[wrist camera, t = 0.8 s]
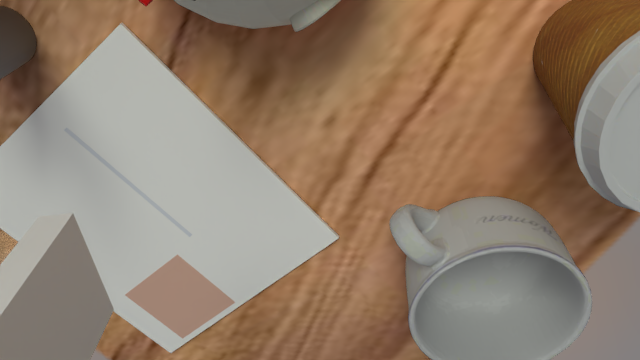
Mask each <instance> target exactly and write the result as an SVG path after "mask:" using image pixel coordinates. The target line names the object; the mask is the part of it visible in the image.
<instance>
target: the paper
mask: <svg viewBox="0 0 640 360" xmlns="http://www.w3.org/2000/svg"><path fill="white" fill-rule="evenodd" d="M69 213H73V214H74V216H75V219H76V221H77V223H78V226H79V228H80V230H81V233H82V235H83V238H84V240H85V242H86V245H87V247H88V249H89V252H90V254H91V256H92V259H93V261H94V263H95V266H96V268H97V271H98V273H99V275H100V278H101V280H102V282H103V285H104V287H105V289H106V292H107V294H108V296H109V299H110V301H111V304H112V306H113V308H114V310H113V311H114V312H115V313H117V314H118V315H119V316H121V317H122V318H123V319H125V320H126V321H128V322H129V323H130V324H132V325H133V326H134V327H136V328H137V329H138V330H140V331H141V332H143V333H144V334H145V335H147V336H148V337H149V338H151V339H152V340H153V341H155V342H156V343H158V344H159V345H160V346H162V347H163V348H164V349H166V350H167V351H168V352H170V353H172V352H173V351H175V350H176V349H178V348H179V347H181V346H182V345H183V344H185V343H186V342H188V341H189V340H191V339H192V338H194V337H195V336H197V335H198V334H200V333H201V332H202V331H204V330H205V329H207V328H208V327H210V326H211V325H213V324H214V323H216V322H217V321H219V320H220V319H221V318H223V317H224V316H226V315H227V314H229V313H230V312H232V311H233V310H235V309H236V308H238V307H239V306H240V305H242V304H243V303H245V302H246V301H248V300H249V299H251V298H252V297H254V296H255V295H257V294H258V293H260V292H261V291H262V290H264V289H265V288H267V287H268V286H270V285H271V284H273V283H274V282H276V281H277V280H279V279H280V278H281V277H283V276H284V275H286V274H287V273H289V272H290V271H292V270H293V269H295V268H296V267H298V266H299V265H300V264H302V263H303V262H305V261H306V260H308V259H309V258H311V257H312V256H314V255H315V254H317V253H318V252H319V251H321V250H322V249H324V248H325V247H327V246H328V245H330V244H331V243H333V242H334V241H336V240H337V239H338V238H339V235H338V234H337V233H336V232H335V231H334V230H333V229H332V228H331V227H330V226H329V225H328V224H327V223H326V222H325V221H324V220H323V219H322V218H321V217H319V216H318V215H317V214H316V213H315V212H314V211H313V210H312V209H311V208H310V207H309V206H308V205H307V204H306V203H305V202H304V201H303V200H302V199H301V198H300V197H299V196H298V195H297V194H296V193H295V192H294V191H293V190H292V189H291V188H290V187H289V186H288V185H287V184H286V183H285V182H284V181H283V180H282V179H281V178H280V177H279V176H278V175H277V174H276V173H275V172H274V171H273V170H272V169H271V168H270V167H269V166H268V165H267V164H266V163H265V162H264V161H263V160H262V159H261V158H260V157H259V156H258V155H257V154H255V153H254V152H253V151H252V150H251V149H250V148H249V147H248V146H247V145H246V144H245V143H244V142H243V141H242V140H241V139H240V138H239V137H238V136H237V135H236V134H235V133H234V132H233V131H232V130H231V129H230V128H229V127H228V126H227V125H226V124H225V123H224V122H223V121H222V120H221V119H220V118H219V117H218V116H217V115H216V114H215V113H214V112H213V111H212V110H211V109H210V108H209V107H208V106H207V105H206V104H205V103H204V102H203V101H202V100H201V99H200V98H199V97H198V96H197V95H196V94H195V93H194V92H193V91H191V90H190V89H189V88H188V87H187V86H186V85H185V84H184V83H183V82H182V81H181V80H180V79H179V78H178V77H177V76H176V75H175V74H174V73H173V72H172V71H171V70H170V69H169V68H168V67H167V66H166V65H165V64H164V63H163V62H162V61H161V60H160V59H159V58H158V57H157V56H156V55H155V54H154V53H153V52H152V51H151V50H150V49H149V48H148V47H147V46H146V45H145V44H144V43H143V42H142V41H141V40H140V39H139V38H138V37H137V36H136V35H135V34H134V33H133V32H132V31H131V30H130V29H129V28H128V27H126V26H125V25H124V24H123V23H121V24H120V25H119V26H118V27H117V28H116V29H115V30H114V31H113V32H112V33H111V34H110V35H109V36H108V37H107V38H106V39H105V40H104V41H103V42H102V43H101V44H100V45H99V46H98V47H97V48H96V49H95V50H94V51H93V52H92V53H91V54H90V55H89V56H88V57H87V58H86V59H85V60H84V61H83V62H82V63H81V65H80V66H79V67H78V68H77V69H76V70H75V71H74V72H73V73H72V74H71V75H70V76H69V77H68V78H67V79H66V80H65V81H64V82H63V83H62V84H61V85H60V86H59V87H58V88H57V89H56V90H55V91H54V92H53V93H52V94H51V95H50V96H49V97H48V98H47V99H46V100H45V101H44V102H43V103H42V104H41V105H40V106H39V107H38V108H37V109H36V111H35V112H34V113H33V114H32V115H31V116H30V117H29V118H28V119H27V120H26V121H25V122H24V123H23V124H22V125H21V126H20V127H19V128H18V129H17V130H16V131H15V132H14V133H13V134H12V135H11V136H10V137H9V138H8V139H7V140H6V141H5V142H4V143H3V144H2V145H1V146H0V228H1V229H2V230H3V231H5V232H6V233H7V234H9V235H10V236H11V237H13V238H14V239H16V240H17V241H18V242H19V241H20V239H21V238H22V237H23V236H24V234H25V233H26V232H27V231H28V229H29V228H30V227H31V226H32V224H33V223H34V222H35V221H36V219H37V218H38V217H41V216H51V215H60V214H69Z"/></svg>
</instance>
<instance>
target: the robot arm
mask: <svg viewBox="0 0 640 360" xmlns="http://www.w3.org/2000/svg"><path fill="white" fill-rule="evenodd" d="M113 310H114V308H113V306H112V304H111V301H110V299H109V296H108V294H107V292H106V289H105V287H104V285H103V282H102V280H101V278H100V275H99V273H98V271H97V268H96V266H95V263H94V261H93V259H92V256H91V254H90V252H89V249H88V247H87V245H86V242H85V240H84V238H83V235H82V233H81V230H80V228H79V226H78V223H77V221H76V219H75V216H74V214H73V213H69V214H60V215H51V216H41V217H38V218H37V219H36V221H35V222H34V223H33V224H32V226H31V227H30V228H29V229H28V231H27V232H26V233H25V234H24V236H23V237H22V238H21V239H20V241H19V242H18V243H17V245H16V246H15V247H14V248H13V250H12V251H11V252H10V253H9V255H8V256H7V257H6V258H5V260H4V261H3V262H2V263H1V265H0V360H90V359H91V357H92V355H93V353H94V351H95V349H96V347H97V344H98V342H99V340H100V338H101V336H102V334H103V332H104V330H105V327H106V325H107V323H108V321H109V319H110V317H111V315H112V312H113Z"/></svg>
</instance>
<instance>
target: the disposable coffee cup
mask: <svg viewBox="0 0 640 360" xmlns="http://www.w3.org/2000/svg"><path fill="white" fill-rule="evenodd" d="M533 61H534V68H535V71H536V74H537V77H538V78H539V80H540V81H541V83H542V85H543V87H544V88H545V90H546V92H547V94H548V96H549V97H550V99H551V101H552V103H553V105H554V107H555V108H556V110H557V112H558V114H559V116H560V117H561V119H562V121H563V123H564V124H565V126H566V128H567V130H568V132H569V134H570V135H571V137H572V139H573V141H574V147H575V153H576V159H577V163H578V165H579V167H580V169H581V171H582V173H583V174H584V176H585V178H586V180H587V181H588V183H589V185H590V186H591V187H592V188H593V189H594V190H595V191H597V192H598V193H599V194H600V195H601V196H602V197H603V198H605V199H607V200H609V201H610V202H612V203H614V204H615V205H617V206H620V207H624V208H627V209H631V210H634V211H638V212H640V0H572V1H570V2H568V3H566V4H565V5H564V6H562V7H561V8H560V9H559V10H557V11H556V12H555V13H554V14H553V15H552V16H551V17H550V18H549V19H548V20H547V22H546V23H545V24H544V26H543V27H542V29H541V31H540V33H539V35H538V37H537V40H536V43H535V47H534V54H533Z"/></svg>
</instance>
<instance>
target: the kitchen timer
mask: <svg viewBox="0 0 640 360" xmlns="http://www.w3.org/2000/svg"><path fill="white" fill-rule="evenodd" d="M139 1H140V2H141V3H142V4H143V5H145V6H147V5H148V4H150V3H151V2H152V1H153V0H139ZM174 1H175V2H176V3H178V4H179V5H181V6H183V7H185V8H187V9H189V10H191V11H193V12H195V13H198V14H200V15H202V16H204V17H206V18H208V19H210V20H212V21H214V22H217V23H223V24H228V25H234V26H240V27H246V28H251V29H257V28H266V27H275V26H283V25H291V24H292V27H293V29H294V31H296V32H297V31H300V30H302V29H304V28H306V27H307V26H309V25H311V24H312V23H314V22H315V21H316V20H318V19H319V18H320V17H322V16H323V15H324V14H326V13H327V12H328V11H329V10H330V9H332V8H333V7H334V6H335V5H337V4H338V3H339V2H340V1H341V0H174Z"/></svg>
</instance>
